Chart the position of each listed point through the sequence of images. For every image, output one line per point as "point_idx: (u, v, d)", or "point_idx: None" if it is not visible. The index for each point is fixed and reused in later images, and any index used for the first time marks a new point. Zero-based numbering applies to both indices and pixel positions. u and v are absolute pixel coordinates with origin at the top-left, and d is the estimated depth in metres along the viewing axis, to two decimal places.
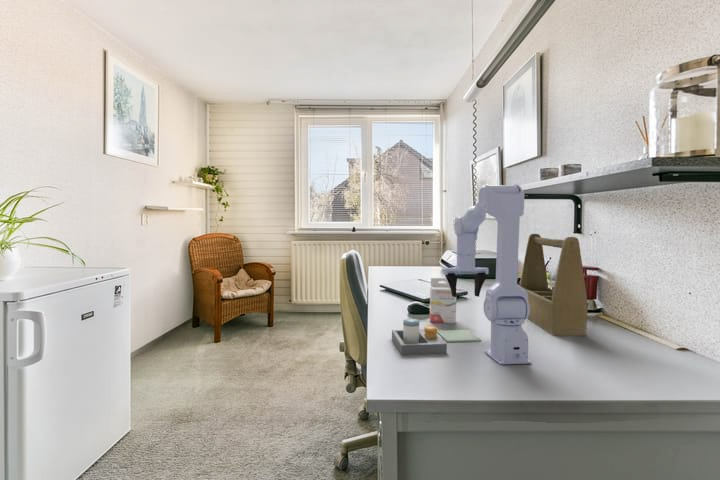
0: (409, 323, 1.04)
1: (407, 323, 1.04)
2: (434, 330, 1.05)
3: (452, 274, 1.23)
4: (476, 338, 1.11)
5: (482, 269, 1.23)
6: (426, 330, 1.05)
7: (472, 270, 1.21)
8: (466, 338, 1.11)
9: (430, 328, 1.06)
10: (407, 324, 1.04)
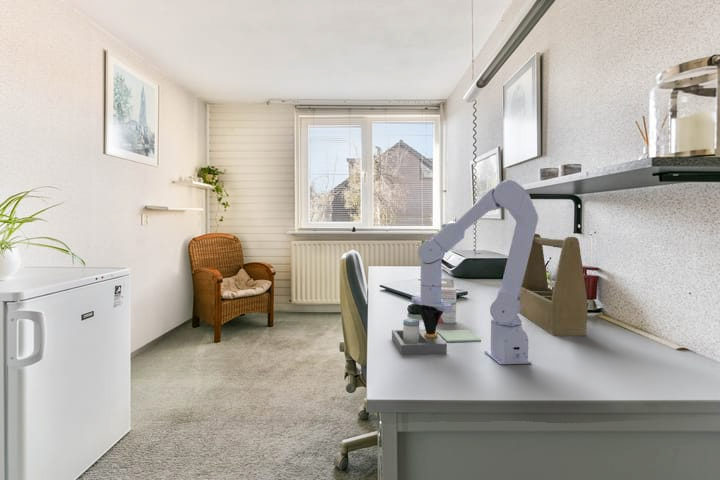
0: (409, 323, 1.04)
1: (407, 323, 1.04)
2: (434, 335, 1.05)
3: None
4: (476, 338, 1.11)
5: (439, 305, 1.01)
6: (426, 335, 1.05)
7: (425, 304, 1.04)
8: (466, 338, 1.11)
9: None
10: (407, 324, 1.04)
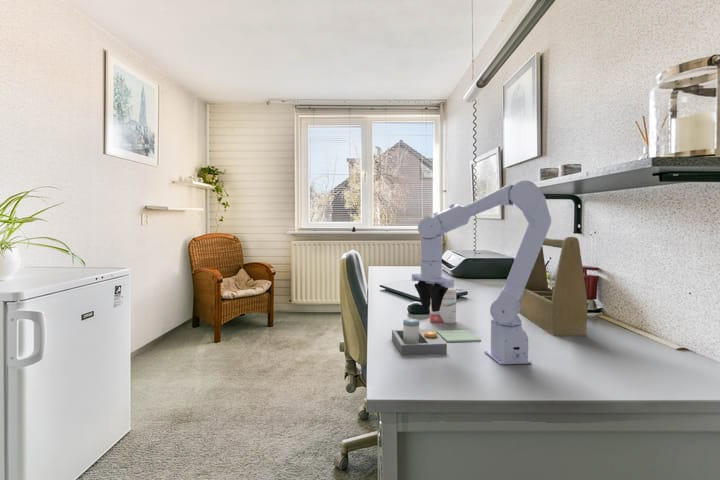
0: (409, 323, 1.04)
1: (407, 323, 1.04)
2: (434, 335, 1.05)
3: None
4: (476, 338, 1.11)
5: (440, 280, 1.01)
6: (426, 335, 1.05)
7: (426, 279, 1.03)
8: (466, 338, 1.11)
9: (430, 333, 1.06)
10: (407, 324, 1.04)
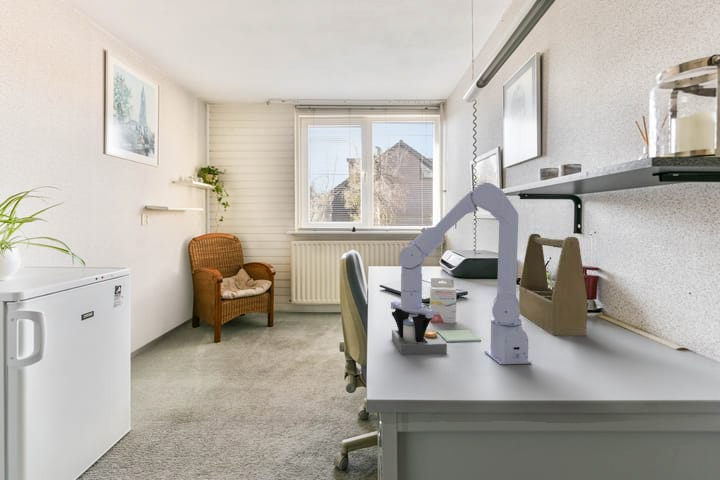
0: (409, 323, 1.04)
1: (407, 323, 1.04)
2: (434, 335, 1.05)
3: (397, 310, 1.09)
4: (476, 338, 1.11)
5: (421, 311, 1.01)
6: (426, 335, 1.05)
7: (407, 309, 1.03)
8: (466, 338, 1.11)
9: (430, 333, 1.06)
10: (407, 324, 1.04)
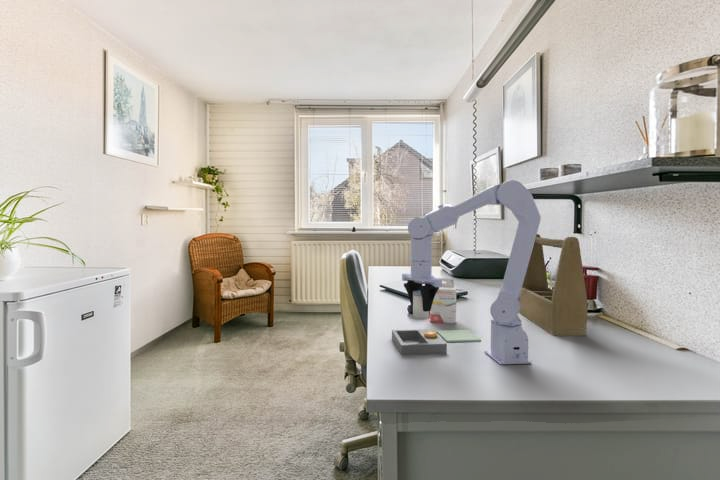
0: (418, 293, 1.05)
1: (416, 293, 1.05)
2: (434, 335, 1.05)
3: None
4: (476, 338, 1.11)
5: (429, 280, 1.02)
6: (426, 335, 1.05)
7: (416, 279, 1.04)
8: (466, 338, 1.11)
9: (430, 333, 1.06)
10: (416, 294, 1.05)
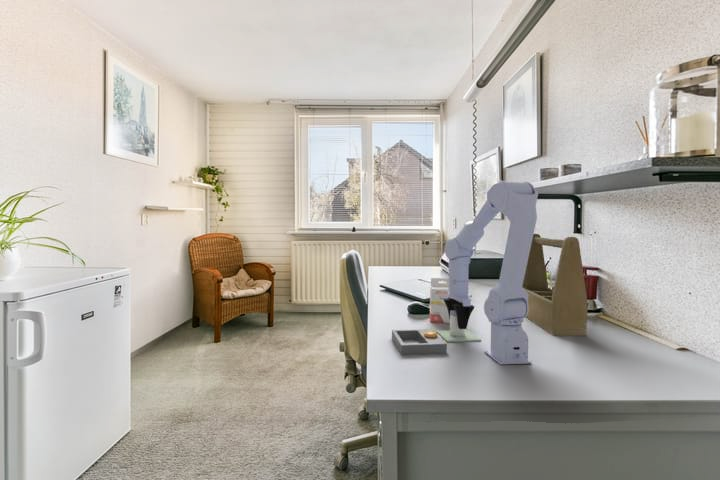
0: (453, 313, 1.13)
1: (451, 313, 1.13)
2: (434, 335, 1.05)
3: (450, 297, 1.19)
4: (476, 338, 1.11)
5: (459, 299, 1.09)
6: (426, 335, 1.05)
7: (450, 297, 1.13)
8: (466, 338, 1.11)
9: (430, 333, 1.06)
10: (451, 314, 1.13)
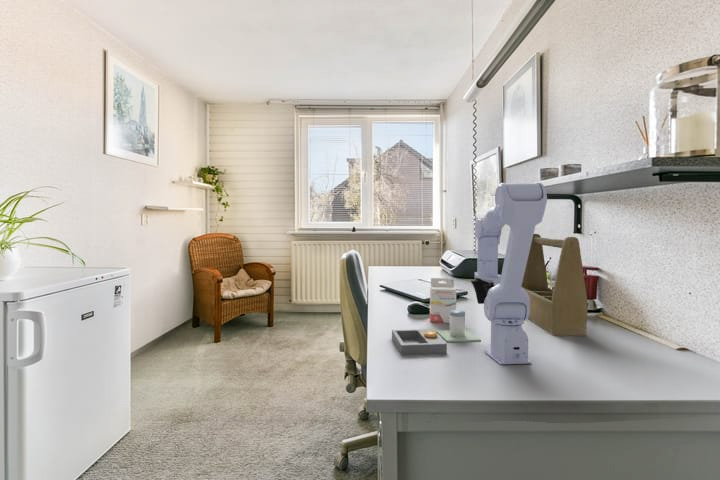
0: (453, 313, 1.13)
1: (451, 313, 1.13)
2: (434, 335, 1.05)
3: (477, 279, 1.17)
4: (476, 338, 1.11)
5: (490, 278, 1.07)
6: (426, 335, 1.05)
7: (479, 277, 1.11)
8: (466, 338, 1.11)
9: (430, 333, 1.06)
10: (451, 314, 1.13)
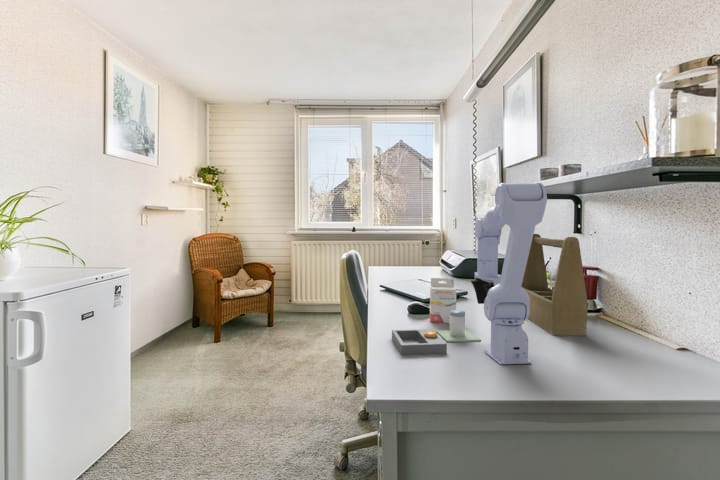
0: (453, 313, 1.13)
1: (451, 313, 1.13)
2: (434, 335, 1.05)
3: (477, 279, 1.17)
4: (476, 338, 1.11)
5: (490, 278, 1.07)
6: (426, 335, 1.05)
7: (479, 277, 1.11)
8: (466, 338, 1.11)
9: (430, 333, 1.06)
10: (451, 314, 1.13)
